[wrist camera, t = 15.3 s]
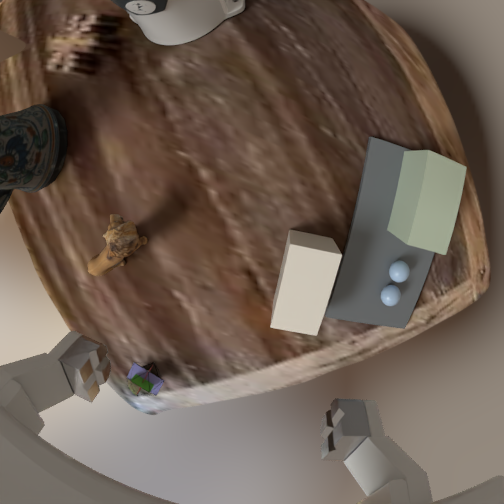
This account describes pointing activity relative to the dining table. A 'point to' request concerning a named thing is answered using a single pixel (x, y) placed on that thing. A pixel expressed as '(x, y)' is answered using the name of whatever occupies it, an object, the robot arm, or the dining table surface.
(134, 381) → the geometric puzzle
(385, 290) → the marble
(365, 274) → the slate board
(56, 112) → the beer stein
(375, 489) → the robot arm
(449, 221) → the pale green prism
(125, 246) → the lion figurine
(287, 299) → the beige eraser-shaped brick
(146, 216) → the dining table surface
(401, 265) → the marble
